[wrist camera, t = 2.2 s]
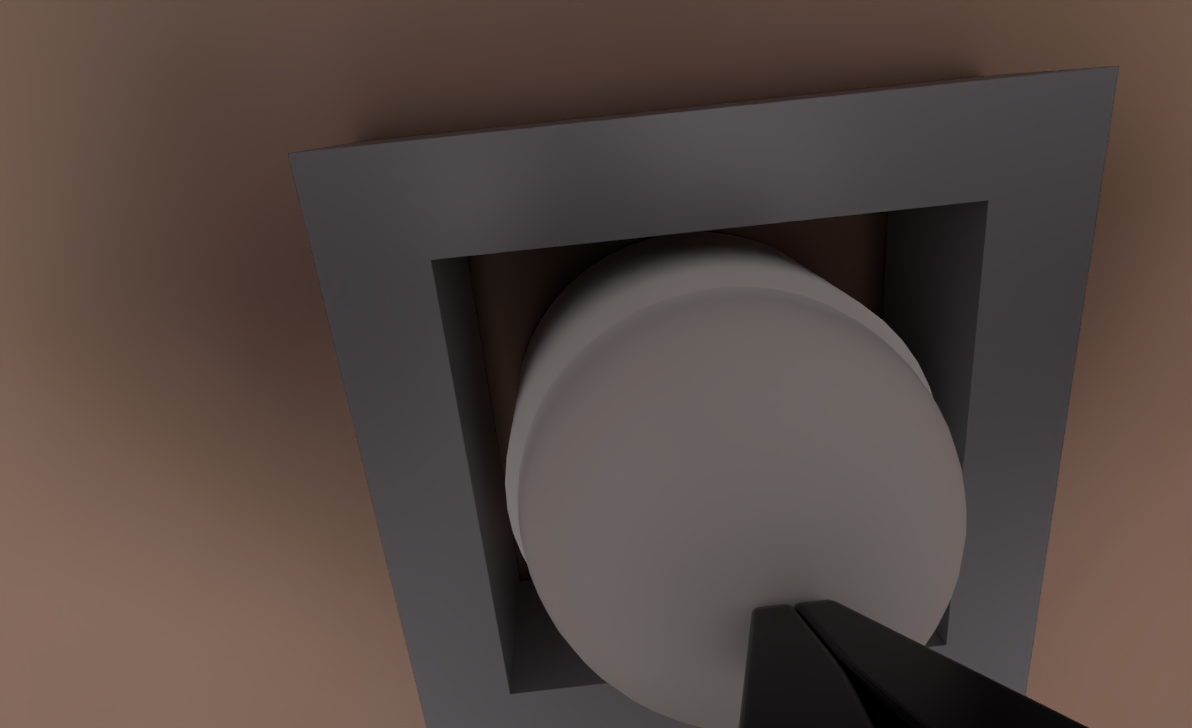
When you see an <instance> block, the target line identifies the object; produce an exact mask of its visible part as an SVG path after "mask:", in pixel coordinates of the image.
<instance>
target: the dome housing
mask: <svg viewBox="0 0 1192 728" xmlns="http://www.w3.org/2000/svg"><path fill="white" fill-rule="evenodd" d="M1118 69H1119V66H1111V67H1097V68H1084V69H1071V70H1057V71H1044V72H1030V73H1017V74H1004V75H990V76H979V77H969V78H960V79H950V80H941V81H931V82H922V83H912V84H903V85H893V86H884V87H874V88H865V89H855V90H846V91H836V92H827V93H817V94H808V95H798V96H789V97H779V98H770V99H760V100H751V101H741V102H732V103H722V104H713V105H703V106H694V107H684V108H675V109H665V110H656V111H646V112H637V113H628V114H618V115H609V116H599V117H590V118H580V119H571V120H561V121H552V122H542V123H533V124H523V125H514V126H504V127H495V128H485V129H476V130H466V131H457V132H447V133H438V134H428V135H419V136H409V137H400V138H390V139H381V140H371V141H362V142H353V143H347V144H341V145H335V146H329V147H324V148H318V149H312V150H306V151H300V152H294V153H288V156H289V160H290V164H291V168H292V173H293V177H294V181H295V185H296V189H297V193H298V197H299V202H300V206H301V210H302V214H303V218H304V222H305V226H306V231H307V235H308V239H309V243H310V247H311V251H312V255H313V260H314V264H315V268H316V272H317V276H318V280H319V284H320V288H321V293H322V297H323V301H324V305H325V309H326V313H327V317H328V322H329V326H330V330H331V334H332V338H333V342H334V346H335V351H336V355H337V359H338V363H339V367H340V371H341V375H342V380H343V384H344V388H345V392H346V396H347V400H348V404H349V409H350V413H351V417H352V421H353V425H354V429H355V433H356V438H357V442H358V446H359V450H360V454H361V458H362V462H363V467H364V471H365V475H366V479H367V483H368V487H369V491H370V495H371V500H372V504H373V508H374V512H375V516H376V520H377V524H378V529H379V533H380V537H381V541H382V545H383V549H384V553H385V558H386V562H387V566H388V570H389V574H390V578H391V582H392V587H393V591H394V595H395V599H396V603H397V607H398V611H399V616H400V620H401V624H402V628H403V632H404V636H405V640H406V645H407V649H408V653H409V657H410V661H411V665H412V669H413V674H414V678H415V682H416V686H417V690H418V694H419V698H420V702H421V707H422V711H423V715H424V719H425V723H426V727H427V728H701V727H697V726H693V725H689V724H686V723H683V722H680V721H678V720H675V719H672V718H670V717H667V716H664V715H662V714H659V713H656V712H654V711H652V710H650V709H648V708H646V707H644V706H642V705H640V704H638V703H636V702H635V701H633V700H631V699H630V698H629V697H627V696H626V695H624V694H623V693H621V692H620V691H619V690H617V689H616V688H614V687H613V686H612V685H610V684H609V683H607V682H606V681H605V680H603V679H602V678H601V677H600V676H598V675H597V674H596V673H595V672H594V671H593V670H592V669H591V668H590V667H589V666H588V665H587V664H586V663H585V662H584V661H583V660H582V659H581V658H580V657H579V655H578V654H577V653H576V652H575V651H574V650H573V648H572V647H571V646H570V645H569V643H568V642H567V641H566V640H565V639H564V637H563V636H562V635H561V634H560V632H559V631H558V629H557V628H556V626H555V624H554V623H553V621H552V619H551V618H550V616H549V614H548V613H547V611H546V609H545V607H544V605H543V603H542V601H541V599H540V597H539V595H538V593H537V590H536V588H535V586H534V583H533V581H532V580H523V581H520V578H519V571H518V565H517V559H516V553H515V547H514V541H513V535H512V529H511V523H510V518H509V514H508V510H507V500H506V492H505V486H504V480H503V474H502V468H501V462H500V456H499V450H498V444H497V438H496V431H495V425H494V419H493V413H492V407H491V401H490V395H489V389H488V383H487V377H486V371H485V365H484V358H483V352H482V346H481V340H480V334H479V328H478V322H477V316H476V310H475V304H474V298H473V292H472V285H471V279H470V273H469V267H468V261H467V256H473V255H482V254H492V253H501V252H510V251H520V250H529V249H538V248H548V247H557V246H567V245H576V244H585V243H595V242H604V241H613V240H623V239H632V238H641V237H651V236H660V235H669V234H679V233H688V232H697V231H707V230H716V229H726V228H735V227H744V226H754V225H763V224H772V223H782V222H791V221H800V220H810V219H819V218H828V217H838V216H847V215H857V214H866V213H875V212H885V211H888V215H887V237H886V259H885V281H884V303H883V321H884V322H885V323H886V324H887V325H888V326H889V327H890V328H891V329H892V330H893V331H894V332H895V333H896V334H897V335H898V336H899V337H900V338H901V339H902V340H903V342H904V343H905V345H906V346H907V347H908V349H909V350H910V352H911V353H912V355H913V356H914V357H915V359H916V360H917V362H918V363H919V366H920V368H921V370H922V372H923V374H924V376H925V378H926V380H927V382H928V384H929V386H930V389H931V393H932V396H933V399H934V401H935V402H936V404H937V405H938V407H939V409H940V411H941V413H942V416H943V418H944V420H945V422H946V424H947V426H948V428H949V431H950V433H951V436H952V439H953V442H954V445H955V448H956V452H957V455H958V458H959V462H960V465H961V468H962V474H963V482H964V489H965V499H966V511H967V516H966V539H965V545H964V550H963V556H962V562H961V567H960V572H959V577H958V580H957V583H956V586H955V589H954V592H953V595H952V598H951V600H950V602H949V604H948V606H947V608H946V610H945V612H944V614H943V616H942V618H941V620H940V622H939V624H938V626H937V628H936V629H935V631H934V633H933V634H932V636H931V637H930V639H929V640H928V642H927V643H926V645H925V646H926V647H928V648H930V649H932V650H934V651H936V652H938V653H940V654H942V655H944V656H946V657H948V658H950V659H952V660H954V661H956V662H958V663H960V664H962V665H964V666H966V667H968V668H970V669H972V670H974V671H976V672H978V673H980V674H982V675H984V676H986V677H988V678H990V679H992V680H994V681H996V682H998V683H1000V684H1002V685H1004V686H1006V687H1008V688H1010V689H1012V690H1014V691H1016V692H1018V693H1020V694H1022V695H1024V696H1025V695H1026V689H1027V682H1028V675H1029V668H1030V662H1031V655H1032V648H1033V641H1034V635H1035V628H1036V621H1037V615H1038V608H1039V601H1040V594H1041V588H1042V581H1043V574H1044V567H1045V561H1046V554H1047V547H1048V540H1049V534H1050V527H1051V520H1052V514H1053V507H1054V500H1055V493H1056V487H1057V480H1058V473H1059V466H1060V460H1061V453H1062V446H1063V440H1064V433H1065V426H1066V419H1067V413H1068V406H1069V399H1070V392H1071V386H1072V379H1073V372H1074V365H1075V359H1076V352H1077V345H1078V339H1079V332H1080V325H1081V318H1082V312H1083V305H1084V298H1085V291H1086V285H1087V278H1088V271H1089V265H1090V258H1091V251H1092V244H1093V238H1094V231H1095V224H1096V217H1097V211H1098V204H1099V197H1100V190H1101V184H1102V177H1103V170H1104V164H1105V157H1106V150H1107V143H1108V137H1109V130H1110V123H1111V116H1112V110H1113V103H1114V96H1115V89H1116V83H1117V76H1118Z"/></svg>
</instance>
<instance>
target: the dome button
mask: <svg viewBox="0 0 1192 728" xmlns="http://www.w3.org/2000/svg"><path fill="white" fill-rule="evenodd" d="M505 489H506V500H507V510H508V514H509V518H510V522H511V526H512V530H513V534H514V536H515V539H516V541H517V544H518V546H519V549H520V551H521V554H522V556H523V558H524V559H525V561H526V563H527V565H528V569H529V573H530V576H531V578H532V581H533V583H534V586H535V588H536V590H537V593H538V595H539V597H540V599H541V601H542V603H543V605H544V607H545V609H546V611H547V613H548V614H549V616H550V618H551V619H552V621H553V623H554V624H555V626H556V628H557V629H558V631H559V632H560V634H561V635H562V636H563V637H564V639H565V640H566V641H567V642H568V643H569V645H570V646H571V647H572V648H573V650H574V651H575V652H576V653H577V654H578V655H579V657H580V658H581V659H582V660H583V661H584V662H585V663H586V664H587V665H588V666H589V667H590V668H591V669H592V670H593V671H594V672H595V673H596V674H597V675H598V676H600V677H601V678H602V679H603V680H605V681H606V682H607V683H609V684H610V685H612V686H613V687H614V688H616V689H617V690H619V691H620V692H621V693H623V694H624V695H626V696H627V697H629V698H630V699H631V700H633V701H635V702H636V703H638V704H640V705H642V706H644V707H646V708H648V709H650V710H652V711H654V712H656V713H659V714H662V715H664V716H667V717H670V718H672V719H675V720H678V721H680V722H683V723H686V724H689V725H693V726H697V727H701V728H739V720H740V711H741V702H742V693H743V684H744V676H745V667H746V658H747V649H748V640H749V631H750V622H751V614H752V611H753V610H754V609H755V608H757V607H765V606H774V605H782V604H787V605H790V606H792V607H794V606H795V605H796V604H797V603H800V602H809V601H818V600H827V599H828V600H833V601H836V602H838V603H840V604H842V605H844V606H846V607H848V608H850V609H852V610H854V611H856V612H858V613H860V614H862V615H864V616H866V617H868V618H870V619H872V620H874V621H876V622H878V623H880V624H882V625H884V626H886V627H888V628H890V629H892V630H894V631H896V632H898V633H900V634H902V635H904V636H906V637H908V638H910V639H912V640H914V641H916V642H918V643H920V644H922V645H924V646H925V645H926V643H927V642H928V640H929V639H930V637H931V636H932V634H933V633H934V631H935V629H936V628H937V626H938V624H939V622H940V620H941V618H942V616H943V614H944V612H945V610H946V608H947V606H948V604H949V602H950V600H951V598H952V595H953V592H954V589H955V586H956V583H957V580H958V577H959V572H960V567H961V562H962V556H963V550H964V545H965V539H966V516H967V511H966V499H965V489H964V482H963V474H962V468H961V465H960V462H959V458H958V455H957V452H956V448H955V445H954V442H953V439H952V436H951V433H950V431H949V428H948V426H947V424H946V422H945V420H944V418H943V416H942V413H941V411H940V409H939V407H938V405H937V404H936V402H935V401H934V399H933V396H932V393H931V389H930V386H929V384H928V382H927V380H926V378H925V376H924V374H923V372H922V370H921V368H920V366H919V363H918V362H917V360H916V359H915V357H914V356H913V355H912V353H911V352H910V350H909V349H908V347H907V346H906V345H905V343H904V342H903V340H902V339H901V338H900V337H899V336H898V335H897V334H896V333H895V332H894V331H893V330H892V329H891V328H890V327H889V326H888V325H887V324H886V323H885V322H884V321H883V320H882V319H881V318H879V317H878V316H877V315H875V314H874V313H873V312H871V311H870V310H869V309H868V308H866V307H865V306H864V305H862V304H861V303H859V302H858V301H856V300H855V299H853V298H852V297H850V296H849V295H847V294H846V293H844V292H843V291H841V290H840V289H838V288H837V287H835V286H833V285H832V284H830V283H829V282H827V281H826V280H824V279H823V278H821V277H820V276H818V275H817V274H815V273H814V272H812V271H811V270H809V269H808V268H806V267H805V266H803V265H801V264H800V263H798V262H797V261H795V260H794V259H792V258H790V257H789V256H787V255H785V254H783V253H781V252H780V251H778V250H776V249H774V248H772V247H770V246H767V245H764V244H762V243H759V242H757V241H754V240H751V239H747V238H743V237H739V236H734V235H730V234H722V233H711V232H688V233H679V234H670V235H664V236H659V237H654V238H651V239H648V240H644V241H641V242H638V243H635V244H632V245H630V246H627V247H625V248H623V249H621V250H619V251H616V252H614V253H612V254H610V255H608V256H607V257H605V258H604V259H602V260H600V261H599V262H597V263H596V264H594V265H592V266H591V267H589V268H588V269H587V270H586V271H584V272H583V273H582V274H581V275H579V276H578V277H577V278H576V279H575V280H573V281H572V282H571V283H570V284H569V285H568V286H567V287H566V288H565V289H564V290H563V291H562V293H561V294H560V295H559V296H558V297H557V298H556V299H555V300H554V302H553V303H552V304H551V306H550V307H549V309H548V310H547V311H546V313H545V314H544V316H543V317H542V318H541V320H540V322H539V324H538V326H537V328H536V330H535V332H534V333H533V335H532V337H531V339H530V342H529V345H528V348H527V350H526V353H525V356H524V359H523V363H522V368H521V373H520V377H519V383H518V389H517V395H516V402H515V408H514V414H513V421H512V427H511V433H510V439H509V446H508V452H507V459H506V476H505Z"/></svg>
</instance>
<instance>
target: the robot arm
mask: <svg viewBox="0 0 1192 728" xmlns="http://www.w3.org/2000/svg"><path fill="white" fill-rule="evenodd" d="M739 728H1088V727H1086V726H1084V725H1082V724H1080V723H1078V722H1076V721H1074V720H1072V719H1070V718H1068V717H1066V716H1064V715H1062V714H1060V713H1058V712H1056V711H1054V710H1052V709H1050V708H1048V707H1046V706H1044V705H1042V704H1040V703H1038V702H1036V701H1034V700H1032V699H1030V698H1028V697H1026V696H1024V695H1022V694H1020V693H1018V692H1016V691H1014V690H1012V689H1010V688H1008V687H1006V686H1004V685H1002V684H1000V683H998V682H996V681H994V680H992V679H990V678H988V677H986V676H984V675H982V674H980V673H978V672H976V671H974V670H972V669H970V668H968V667H966V666H964V665H962V664H960V663H958V662H956V661H954V660H952V659H950V658H948V657H946V656H944V655H942V654H940V653H938V652H936V651H934V650H932V649H930V648H928V647H926V646H924V645H922V644H920V643H918V642H916V641H914V640H912V639H910V638H908V637H906V636H904V635H902V634H900V633H898V632H896V631H894V630H892V629H890V628H888V627H886V626H884V625H882V624H880V623H878V622H876V621H874V620H872V619H870V618H868V617H866V616H864V615H862V614H860V613H858V612H856V611H854V610H852V609H850V608H848V607H846V606H844V605H842V604H840V603H838V602H836V601H833V600H828V599H827V600H818V601H809V602H800V603H797V604H796V605H795V606H794V607H792V606H790V605H787V604H782V605H774V606H765V607H757V608H755V609H754V610H753V611H752V614H751V622H750V631H749V640H748V649H747V658H746V667H745V676H744V684H743V693H742V702H741V711H740V720H739Z"/></svg>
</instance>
